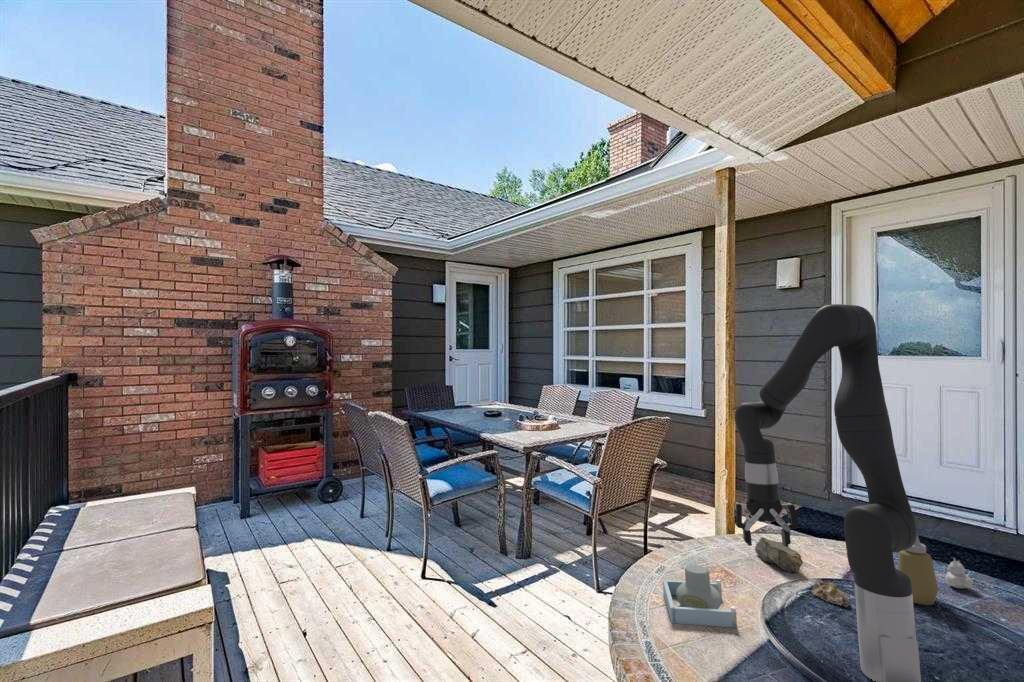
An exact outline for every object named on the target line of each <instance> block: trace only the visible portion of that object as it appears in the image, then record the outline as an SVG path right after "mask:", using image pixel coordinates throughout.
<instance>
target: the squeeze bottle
mask: <svg viewBox="0 0 1024 682" xmlns="http://www.w3.org/2000/svg"><path fill="white" fill-rule="evenodd" d="M920 541H921V540H920V538H919V535H918V534H917V538H916V541H915V543H914V545H913V546H912V547H911V548H909V549H906V550H903V551H898V566H897V568H898V569H897V570H900V571H902V572H904V573H905V574H906V575H908V576H909V578H910V580H911V583H912V594H913V604H918V605H924V606H932V605H934V603H935V601H936V598H937V595H938V593H939V587H938V582H937V577H936V572H935V568H934V562H933V558H932V556H931V555H930V554H929V553H927V546H926V545H925V544H924V543H921V542H920Z"/></svg>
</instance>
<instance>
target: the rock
mask: <svg viewBox="0 0 1024 682" xmlns="http://www.w3.org/2000/svg"><path fill="white" fill-rule="evenodd" d="M754 550H755V552H756V554H757V555H758V557H760V559H761V560H762V561H764V562H765V563H767V564H772V565H777V566H778V567H779V568H780V570H783V571H785V572H788V573H798V572H799V571H800V568H801V567H802V566H803V564H804V562H803V559H802V556H801V554H800V553H799V552H798V551H797V550H795V549H794V550H793V548H790V547H789V546H788V547H785V546H784V545H783V544H782V541H781V542H780V541H775V540H771V539H768V538H766V537H764V536H761V538H760V539H759V541H758V542H757V543H756V545H755V548H754Z"/></svg>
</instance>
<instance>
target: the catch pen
mask: <svg viewBox="0 0 1024 682" xmlns="http://www.w3.org/2000/svg"><path fill="white" fill-rule="evenodd" d="M684 582H686V580H675V579H674V580H673V579H662V590H663V591H662V593H663V596H664V600H665V604H666V607H667V611H668V614H669V619H670V623H671V624H681V625H696V626H707V627H708V626H709V627H720V628H721V627H722V628H724V627H725V628H735V629H736V628H738V624H737V620H738V619H737V608H736V606H733V605H732V606H730V609H720V608H718V609H706V608H691V607H683V606H675V604H674V600H673V598H672V596H676V591H677V588H678V587H679V586H680V585H681V584H682V583H684ZM710 585H711V586H713V587H714V588H715V589H716V590H717V591H718V592H719V594H720V596H721V599H722V598H723V597H722V596H723V595H722V594H723V593H722V581H721V579H719V578H718V579H716V580H715V582H712V581H710Z"/></svg>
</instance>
